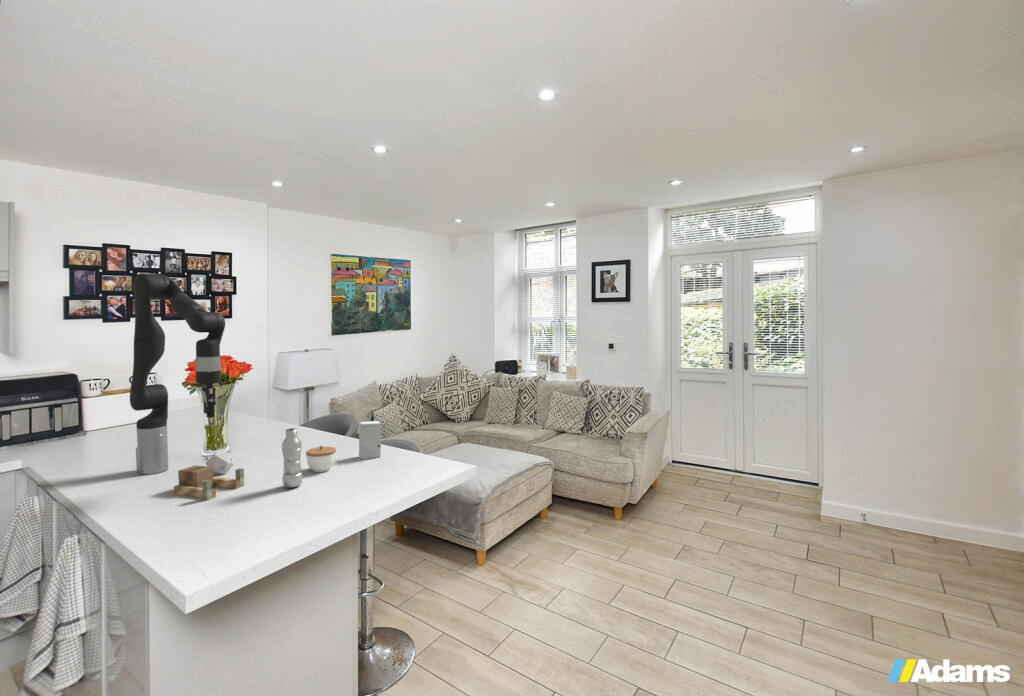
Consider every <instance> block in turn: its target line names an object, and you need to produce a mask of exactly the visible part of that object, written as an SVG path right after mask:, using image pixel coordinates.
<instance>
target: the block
mask: <svg viewBox="0 0 1024 696" xmlns="http://www.w3.org/2000/svg"><path fill="white" fill-rule="evenodd" d="M177 473H178V485H184V486H192V487H200V488H202V481H204V480H211V489H214V486H213V477H214V474H213V467H207V466H204V465H203V466H202V465H192V466H191V465H190V466H188V467H186V468H182V469H179V470H178V472H177Z"/></svg>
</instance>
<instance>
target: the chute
mask: <svg viewBox="0 0 1024 696" xmlns="http://www.w3.org/2000/svg"><path fill="white" fill-rule="evenodd" d="M234 472H235V479H233V478H226V477H215V476H213V487H217V488H218V487H220V488H227V489H234V490H237V489H240V488H242V487H244V486H245V468H241V467H239V468H236V469H235V471H234ZM173 494H174V495H179V496H186V497H187V496H189V497H196V498H202V501H209V500H212V499H216V497H217V489H216V488H215V489H214V488H211V480H204V481H202V488H200V487H192V486H184V485H179V484H177V485H174V486H173Z"/></svg>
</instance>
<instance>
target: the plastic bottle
mask: <svg viewBox="0 0 1024 696" xmlns="http://www.w3.org/2000/svg"><path fill="white" fill-rule="evenodd" d="M297 435H298V428H296V427H295V428H294V427H293V428H292V427H291V428H287V429H285V436H286V437H285V438H284V439H283V441H282V442H281V451H282V457H283V473H282V477H281V478H282V479H281V480H282V485H283V487H284V488H288V489H289V488H291V489H292V488H297V487H300V486H301V485H302V483H303V472H302V466H301V457H302V456H301V453H302V445H303V444H302V440H301V439H300V438H299V437H298V436H297Z"/></svg>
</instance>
